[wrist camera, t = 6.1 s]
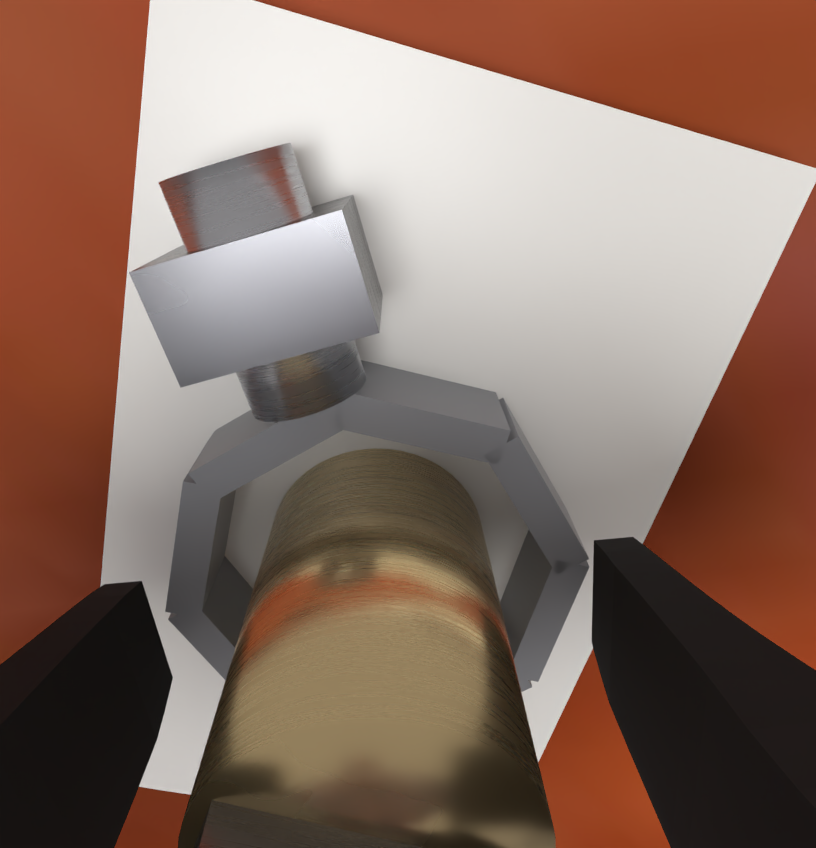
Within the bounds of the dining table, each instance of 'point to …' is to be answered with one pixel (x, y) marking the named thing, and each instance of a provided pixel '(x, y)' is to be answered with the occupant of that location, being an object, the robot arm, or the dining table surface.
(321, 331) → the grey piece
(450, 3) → the dining table surface
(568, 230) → the base plate
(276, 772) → the cylinder
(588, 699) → the dining table surface
